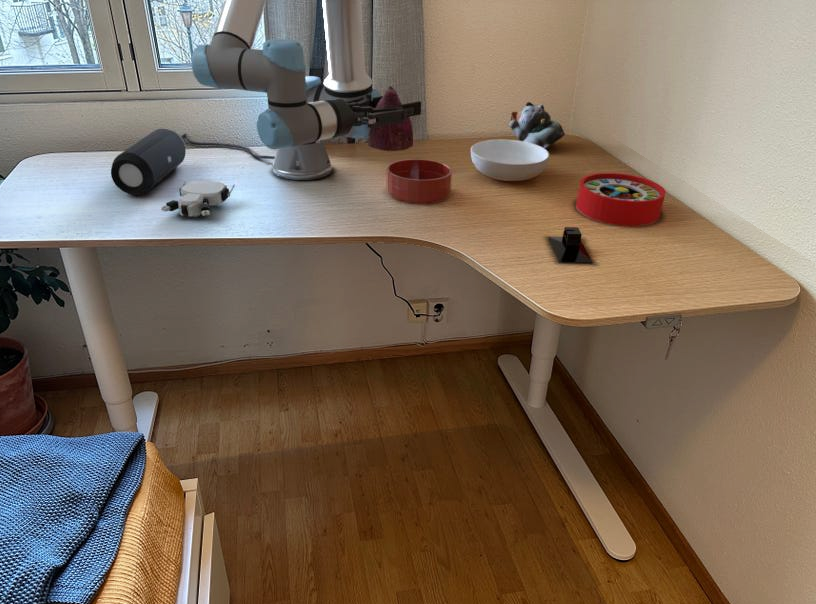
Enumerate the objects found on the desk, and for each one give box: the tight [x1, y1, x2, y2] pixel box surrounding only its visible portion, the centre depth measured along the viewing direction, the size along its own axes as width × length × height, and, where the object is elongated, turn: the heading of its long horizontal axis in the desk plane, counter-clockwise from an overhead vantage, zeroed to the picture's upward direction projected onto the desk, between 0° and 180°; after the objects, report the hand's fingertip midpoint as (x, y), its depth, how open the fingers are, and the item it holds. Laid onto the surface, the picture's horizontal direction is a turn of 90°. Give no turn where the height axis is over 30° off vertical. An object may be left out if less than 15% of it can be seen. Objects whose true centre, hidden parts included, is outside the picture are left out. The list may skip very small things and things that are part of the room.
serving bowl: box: [470, 138, 550, 182], centre depth 176 cm, size 21×21×7 cm
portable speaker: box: [110, 128, 187, 195], centre depth 163 cm, size 26×10×10 cm, turn 176°
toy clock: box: [575, 172, 666, 227], centre depth 159 cm, size 20×6×20 cm
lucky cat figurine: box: [509, 101, 566, 150], centre depth 199 cm, size 15×12×14 cm
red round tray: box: [385, 158, 453, 205], centre depth 163 cm, size 16×16×6 cm
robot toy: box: [160, 179, 236, 217], centre depth 150 cm, size 12×4×15 cm
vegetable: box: [367, 85, 414, 152], centre depth 148 cm, size 10×10×15 cm
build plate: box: [547, 226, 594, 265], centre depth 139 cm, size 12×7×5 cm, turn 1°
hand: (407, 104), depth 150 cm, fingers closed on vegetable, 8 cm apart
